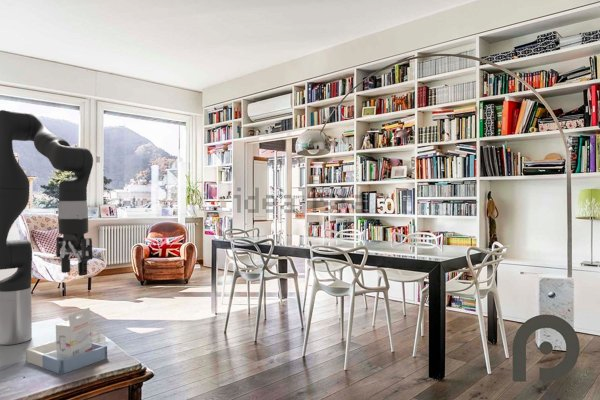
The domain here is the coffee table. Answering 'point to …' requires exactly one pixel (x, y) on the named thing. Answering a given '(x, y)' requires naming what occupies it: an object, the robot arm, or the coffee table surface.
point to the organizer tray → (48, 359)
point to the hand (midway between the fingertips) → (74, 273)
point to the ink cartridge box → (74, 335)
